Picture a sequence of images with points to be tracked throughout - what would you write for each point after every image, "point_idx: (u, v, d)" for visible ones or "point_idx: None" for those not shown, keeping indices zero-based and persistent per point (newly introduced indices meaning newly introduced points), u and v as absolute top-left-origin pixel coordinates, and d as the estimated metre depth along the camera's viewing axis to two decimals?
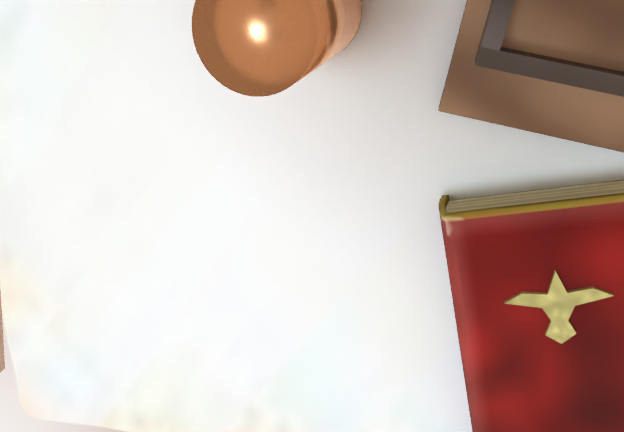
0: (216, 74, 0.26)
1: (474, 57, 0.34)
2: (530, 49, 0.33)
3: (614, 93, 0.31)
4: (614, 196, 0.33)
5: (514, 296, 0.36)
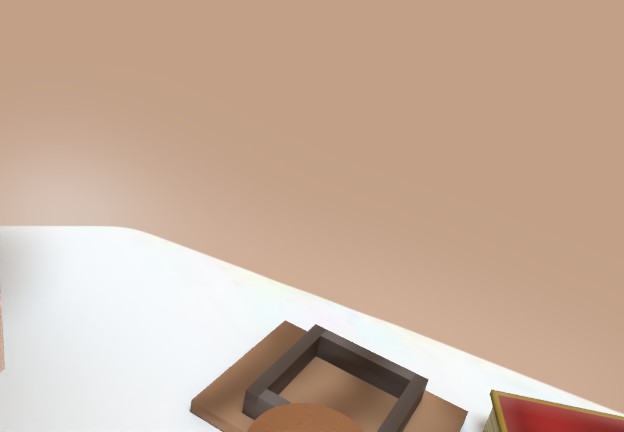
0: None
1: None
2: None
3: (416, 396, 0.41)
4: (497, 414, 0.41)
5: None
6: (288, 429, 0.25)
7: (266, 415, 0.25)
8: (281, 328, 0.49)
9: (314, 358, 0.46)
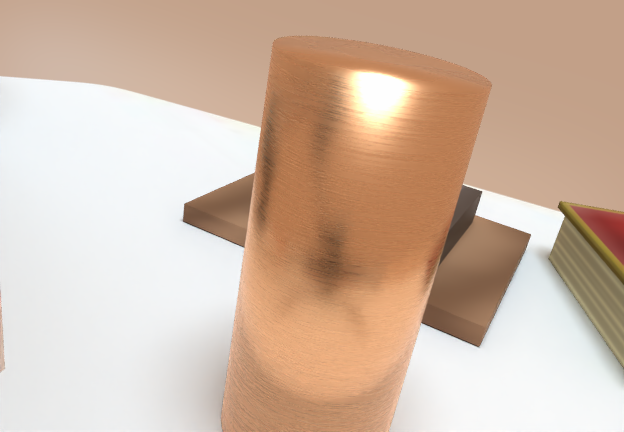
0: (448, 89, 0.13)
1: None
2: None
3: (471, 202, 0.33)
4: (576, 219, 0.32)
5: None
6: (341, 46, 0.16)
7: (304, 37, 0.16)
8: None
9: None
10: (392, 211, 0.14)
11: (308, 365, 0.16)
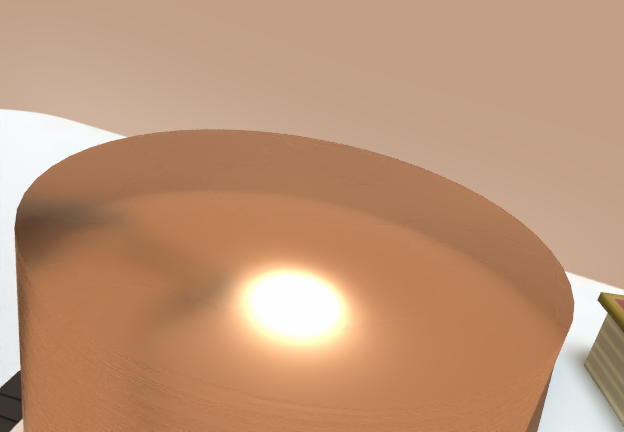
0: (467, 372, 0.04)
1: None
2: None
3: None
4: None
5: None
6: (225, 166, 0.07)
7: (154, 138, 0.08)
8: None
9: None
10: None
11: None
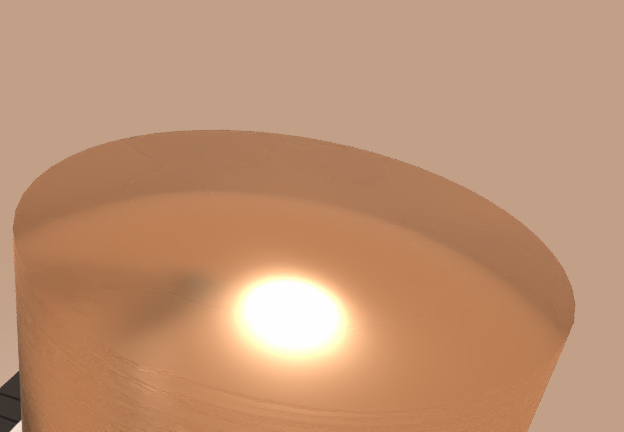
0: (467, 374, 0.04)
1: None
2: None
3: None
4: None
5: None
6: (226, 166, 0.07)
7: (153, 139, 0.08)
8: None
9: None
10: None
11: None
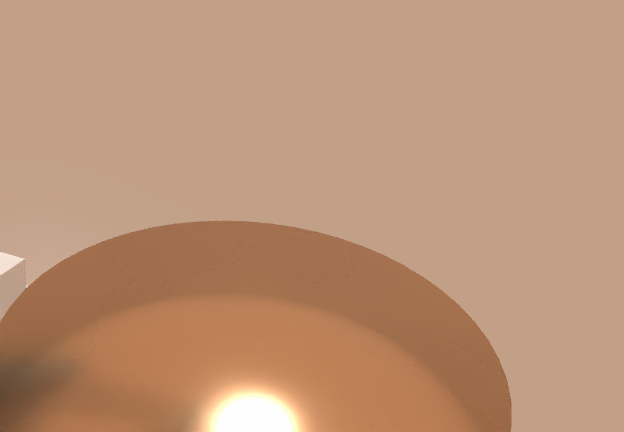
0: None
1: None
2: None
3: None
4: None
5: None
6: (193, 273, 0.08)
7: (126, 241, 0.08)
8: None
9: None
10: None
11: None
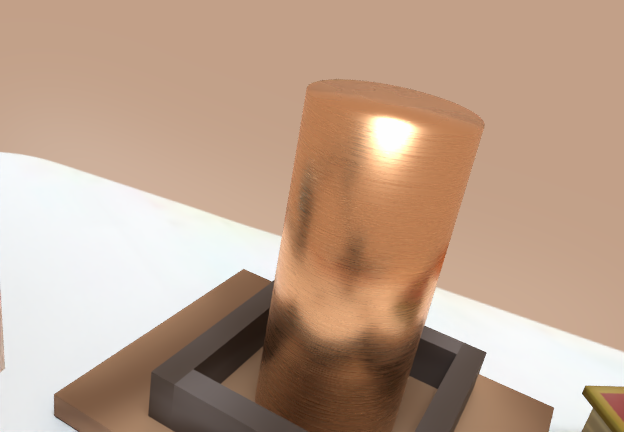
0: (448, 132, 0.16)
1: None
2: None
3: (471, 380, 0.23)
4: None
5: None
6: (361, 90, 0.19)
7: (330, 81, 0.20)
8: (236, 280, 0.30)
9: None
10: (404, 228, 0.17)
11: (333, 353, 0.19)
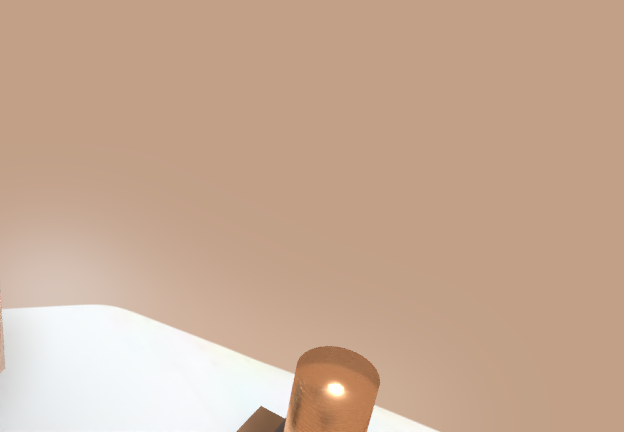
0: (359, 399, 0.37)
1: None
2: None
3: None
4: None
5: None
6: (323, 360, 0.40)
7: (308, 353, 0.40)
8: (257, 415, 0.51)
9: None
10: None
11: None
